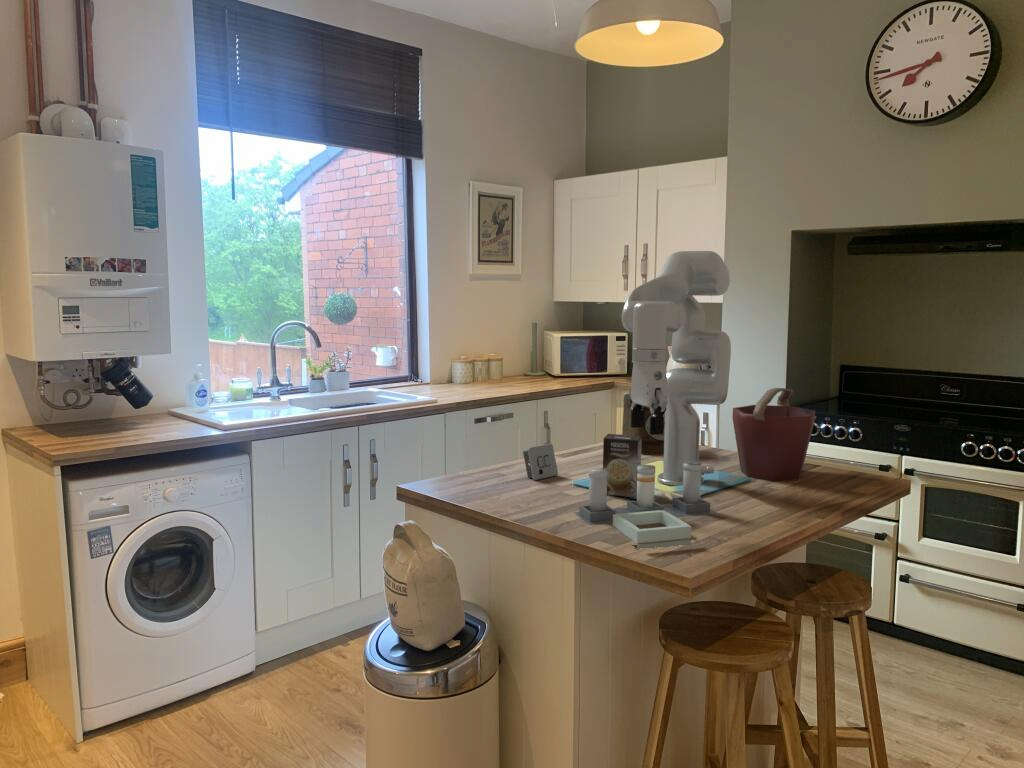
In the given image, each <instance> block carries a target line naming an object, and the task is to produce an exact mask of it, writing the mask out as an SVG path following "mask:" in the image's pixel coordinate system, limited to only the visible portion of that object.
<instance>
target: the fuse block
mask: <svg viewBox="0 0 1024 768" xmlns="http://www.w3.org/2000/svg"><path fill="white" fill-rule="evenodd" d="M657 510H665V511H666V512H668V513H670V514H671V515H673V516H675V517H676V518H682V517H690V516H691V517H692V516H703V515H712V514H713V515H715V514H717V512H716V511H714V510H712V509H711V502H709V501H707V500H705V499H703V498H702V497H700V503H695V504H686V503H684V502H683V496H678V497H672V503H665V504H663V503H662V504H660V503H658V502H656V501H655V500H654V507H649V508H639V507H637V500H632V501H626V507H620V508H619V507H615V508H612V507H611V506H609V505H608V504H607V508H606V511H603V512H592V513H591V512H590V511H589V504H586V505H585V504H584V505H583V504H582V505H579V511H574V512H573V513H574V514H575V515H576V516H577V517H579V518H580V519H581V520H583V521H584V522H585V523H586V524H588V525H589V526H592V525H593V526H594V525H605V524H613V514H623V513H635V512H646V511H657Z"/></svg>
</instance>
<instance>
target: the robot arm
mask: <svg viewBox="0 0 1024 768" xmlns="http://www.w3.org/2000/svg"><path fill="white" fill-rule="evenodd" d="M730 279H731V276H730V272H729V269H728V267H727V265H726V263H725V261H724V259H723V258H722V256H721V255H719V254H718V253H717V252H715V251H712V250H692V251H691V250H682V251H681V250H680V251H676V252H674V253H673V252H672V253H671V254H670V255H669V256H667V258H666V260H665V262H664V263H663V266H662V268H661V270H660V272H659V274H658V276H657V277H654V278H653V279H651V280H649V281H647V282H644V283H642V284H641V285H639V286H637V287H636V288H634V289H633V290H631V292H630V294H628V296H627V299H626V300H625V302H624V305H623V307H622V311H621V323H622V326H623V328H624V329H625V330H626V331H628V332H630V333H632V352H631V353H632V354H631V357H632V358H631V363H633V364H632V371H631V372H632V373H631V382H630V383H631V385H630V389H629V390H628V394H630V403H631V407H630V409H631V410H633V411H631V427H632V428H638V427H644V412H645V411H644V410H643V408H644V407H649V409H650V412H651V415H652V417H650V434H651V435H660V434H663V432H664V453H663V471H662V472H663V473H660V474H658V475H657V481H658V482H659V483H661V484H663V483H664V485H667V486H672V485H673V486H672V487H677V486H679V487H680V486H681V487H683V475H684V469H683V463H684V462H688V461H694V462H699V463H700V461H699V458H700V457H699V456H700V432H701V431H700V430H701V429H700V428H701V422H700V421H701V420H700V417H699V414H698V412H697V411H696V410H695V408H694V406H692V405H696V404H697V405H707V406H708V405H710V406H720V405H722V404H724V403H725V402H726V400H727V398H728V395H729V394H728V392H729V383H730V380H729V379H730V369H731V368H730V367H731V359H732V357H731V356H732V355H731V354H732V345H731V343H732V342H731V339H730V336H729V334H728V333H726V332H725V331H721V330H713V329H711V330H709V329H708V330H707V329H706V330H705V327H706V326H705V325H706V312H705V310H704V308H703V306H702V305H701V303H700V302H699V301H698V299H696V298H695V297H694V296H706V297H708V296H710V297H711V296H713V297H715V296H716V297H717V296H723V295H724V294H726V292H727V291H728V289H729V286H730V281H731V280H730ZM667 334H672V335H671V336H672V338H671V348H670V349H671V350H670V352H671V358H672V360H673V361H674V362H676V363H679V364H681V365H682V364H683V365H700V366H710V367H711V369H703V368H701V369H699V368H687V367H686V368H684V367H679V368H678V367H677V368H672V369H669V370H667V368H666V367H667V366H666V357H667V356H666V355H667V354H666V352H667V351H666V349H667ZM654 408H657V409H656V411H655V409H654ZM664 417H665V429H664ZM714 473H715V468H714V466H705V465H702V469H701V485H702V484H703V483H704V480H705V478H704V477H703V476H704V475H705V474H706V475H710V474H712V475H713V474H714Z"/></svg>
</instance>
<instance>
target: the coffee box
mask: <svg viewBox="0 0 1024 768" xmlns="http://www.w3.org/2000/svg"><path fill="white" fill-rule="evenodd" d="M641 445H642V437H641V436H630V435H622V434H618V433H617V434H616V433H607V434H606V435H605V436H604V438H603V447H602V448H603V453H602V468H604V469H607V470H608V476H607V496H608V495H609V496H619V497H630V498H637V466H638V465H642V464H641V463H642V454H641Z"/></svg>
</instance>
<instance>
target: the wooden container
mask: <svg viewBox="0 0 1024 768" xmlns="http://www.w3.org/2000/svg"><path fill="white" fill-rule="evenodd" d="M630 407H631V403H630V394H629V393H626V394H625V393H624V395H623V408H622V409H623V411H622V426H621V427H622V430H621V431H622V432H621V435H630V436H641V437H642V445H641V455H657V454H658V455H659V454H664V432H663V434H660V435H651V434H650V417H652V415H651V412H650V409H649V407H644V408H643V410H644V411H645V412H644V427H638V428H632V427H631V411H633V410H631V409H630ZM654 409H655V411H656V409H657V408H654ZM664 429H665V417H664Z"/></svg>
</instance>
